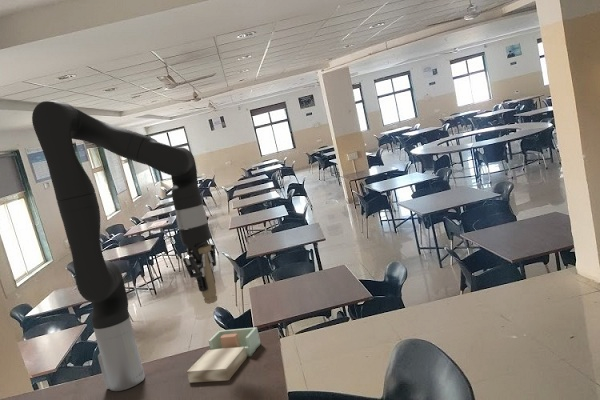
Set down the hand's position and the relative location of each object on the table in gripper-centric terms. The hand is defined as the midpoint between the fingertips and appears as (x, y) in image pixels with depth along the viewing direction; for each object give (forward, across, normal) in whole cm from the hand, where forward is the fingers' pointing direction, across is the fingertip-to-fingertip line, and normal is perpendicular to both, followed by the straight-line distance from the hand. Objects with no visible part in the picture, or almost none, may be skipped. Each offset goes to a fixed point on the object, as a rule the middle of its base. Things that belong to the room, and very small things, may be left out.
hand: (207, 287), depth 133 cm
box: (+21, -6, 0) cm, 22 cm away
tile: (+18, -5, 0) cm, 19 cm away
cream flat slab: (+21, +4, 0) cm, 21 cm away
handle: (+4, 0, 0) cm, 4 cm away
